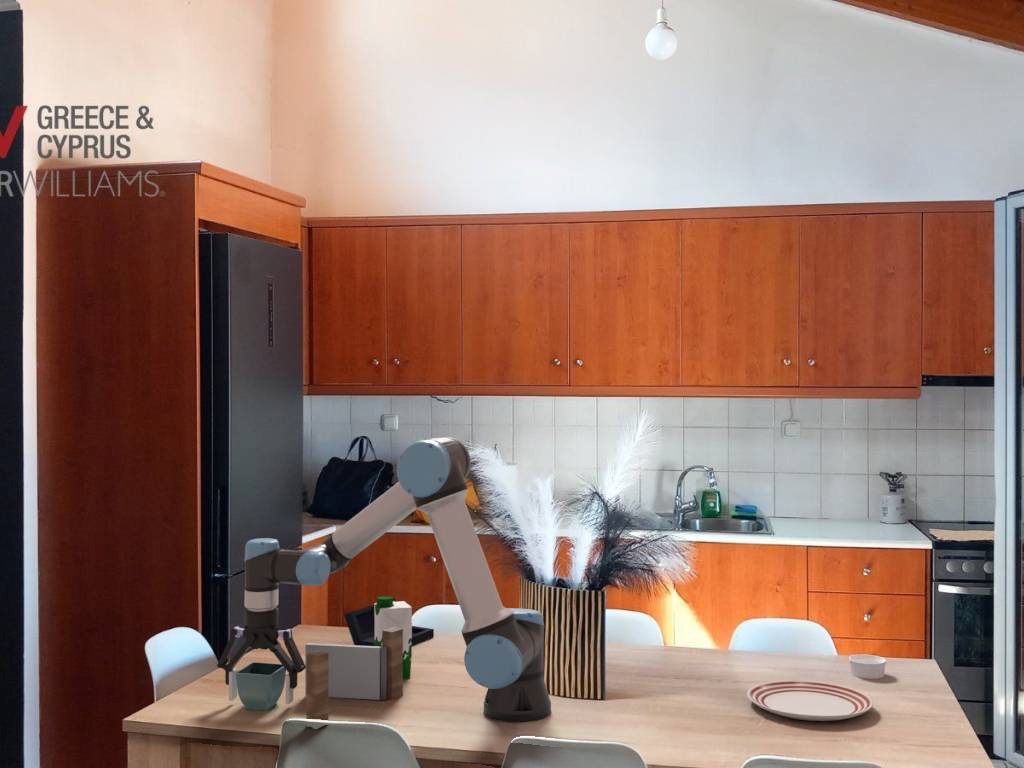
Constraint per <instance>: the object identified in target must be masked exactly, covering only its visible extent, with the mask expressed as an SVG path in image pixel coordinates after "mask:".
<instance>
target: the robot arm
mask: <svg viewBox="0 0 1024 768" xmlns="http://www.w3.org/2000/svg"><path fill="white" fill-rule="evenodd" d="M471 462H472V461H471V456H470V452H469V451H468V448H467V447H466V446H465V445H464V444H463V443H462V442H461V441H460V440H459V439H456V438H454V437H452V436H451V437H450V436H439V437H433V438H424V439H423V438H422V439H420V440H417V441H414V442H413V443H411V444H409V445H408V446H407V447H405V449H404V450H403V451H402V452H401V453H400V455H399V458H398V461H397V465H396V477H397V479H398V482H396V483H395V484H393V486H391V487H390V488H389V489H388V490H386V491H385V492H383V494H381V495H379V496H378V497H377V498H376V499H375V500H373V501H372V502H371V503H370V504H368V505H367V506H366V507H364V508H363V509H362V510H361V511H359V512H358V513H357V514H355V515H354V516H353V517H352V518H350V519H349V520H348V521H347V522H346V523H344V524H343V525H341V526H340V527H339V528H337V529H336V530H335V531H334V532H333V533H332V534H330V535H328V536H327V537H326V538H325V539H324V540H322V541H321V542H319V543H317V544H315V545H312V546H309V547H306V548H303V549H297V550H296V549H283V548H280V544H279V543H280V542H279V541H278V540H279V539H276V538H270V537H267V538H266V537H265V538H263V537H262V538H261V537H260V538H253V539H250V540H248V541H247V542H246V544H245V546H244V548H245V549H244V550H245V551H244V559H243V562H244V604H243V605H244V607H245V609H244V613H243V614H244V616H243V617H244V622H243V624H244V628H241V627H240V626H239V625H237V626H235V627H233V628H231V630H230V636H229V639H228V641H227V644H226V646H225V648H224V649H223V652H222V654H221V656H220V658H219V661H218V662H217V664H216V667H217V668H218V669H223V670H224V671H225V674H224V676H225V680H224V681H225V685H227V686H228V701H234V700H235V699H236V698H238V689H237V681H236V674H235V673H236V672H237V671H238V668H235V666H237V664H238V663H239V662H240V661H241V659H242V658H243V657H244V655H246V653H247V652H248V651H249V650H250V649H251V648H252V649H253V650H259V649H260V650H269V651H270V652H271V653H272V654H274V656H275V657H276V659H278V661H279V662H280V664H282V665H283V666H284V667H285V669H286V672H287V673H286V676H285V705H290V704H292V702H293V701H294V690H295V689H296V688H297V687H298V673H299V674H300V673H301V672H303V671H305V668H306V666H305V662H304V660H303V658H302V655H301V653H300V651H299V649H298V646H297V644H296V643H295V641H294V637H293V630H292V629H291V628H288V629H285V630H283V629H282V630H280V628H279V608H278V606H279V586H280V584H289V585H297V586H298V585H299V586H300V585H301V586H306V587H312V586H321V585H324V584H325V583H326V582H327V581H326V580H328V579H329V577H330V575H331V574H334V573H337V572H339V571H341V570H343V568H346V566H347V565H348V564H349V563H350V561H351V560H352V559H354V557H356V556H357V555H358V554H360V553H361V552H362V551H363V550H365V549H366V548H368V547H369V546H371V544H373V543H374V542H375V541H376V540H378V539H379V538H381V537H382V536H383V535H385V534H386V533H387V532H388V531H390V530H391V529H392V528H394V527H395V526H396V525H397V524H399V523H400V522H401V521H403V520H404V519H406V518H407V517H409V515H411V514H412V513H413V512H415V511H416V510H418V511H420V512H422V513H423V514H426V515H427V519H428V521H429V524H430V526H431V530H432V532H433V535H434V538H435V540H436V544H437V546H438V549H439V552H440V555H441V557H442V560H443V563H444V566H445V568H446V571H447V574H448V577H449V581H450V583H451V585H452V588H453V591H454V594H455V597H456V599H457V603H458V605H459V609H460V610H461V614H462V616H463V619H464V623H463V626H462V627H461V629H460V631H461V635H462V637H463V640H464V642H465V643H464V644H465V646H466V648H465V652H464V657H463V660H464V661H463V662H464V667H465V671H466V673H467V674H468V676H469V677H470V678H471V679H472V680H473V681H474V682H475V683H476V684H477V685H479V686H482V687H483V688H485V689H487V691H486V694H485V697H484V700H483V714H484V715H485V716H486V717H487V718H488V719H492V720H495V721H498V722H502V723H503V722H504V723H513V724H514V723H515V724H517V723H518V724H519V723H531V722H537V721H541V720H544V719H546V718H548V717H549V716H550V715H551V713H552V701H551V699H550V695H549V693H548V688H547V686H546V681H545V680H544V679H545V678H544V631H545V630H544V628H545V623H544V615H543V614H542V612H541V611H539V610H536V609H530V608H516V607H515V608H514V607H511V608H509V607H508V608H507V607H505V606H504V605H503V603H502V600H501V597H500V594H499V592H498V589H497V586H496V583H495V580H494V578H493V575H492V573H491V570H490V567H489V564H488V562H487V559H486V556H485V553H484V551H483V548H482V545H481V543H480V540H479V537H478V533H477V531H476V529H475V526H474V523H473V520H472V517H471V515H470V512H469V509H468V507H467V504H466V501H465V499H466V497H467V495H468V493H469V488H468V486H467V483H466V480H465V479H467V477H468V476H469V474H470V473H469V472H470V469H471V465H472V463H471ZM242 636H243V637H244V639H245V640H246V641H245V642H244V643H243V645H242V646H241V648H239V650H238V651H236V653H235V654H234V656H233V657H232V658H231V659H230V657H231V656H232V653H233V651H234V649H235V648H236V645H237V644H238V641H239V639H240V637H241V638H242ZM279 637H280V638H281V640H282V641H283V643H284V646H285V648H286V650H287V652H288V653H287V652H286V651H285V649H284V648H283V646H282V644H281V643H280V641H279V640H278V638H279ZM288 654H289V655H288ZM229 659H230V660H229Z"/></svg>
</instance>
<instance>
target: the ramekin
mask: <svg viewBox="0 0 1024 768" xmlns="http://www.w3.org/2000/svg"><path fill="white" fill-rule="evenodd" d="M848 660H849V665H850V667H849V668H850V674H851V675H852V676H855V677H857V678H859V679H860V678H861V679H870V680H871V679H872V680H876V679H882V678H884V677H885V669H886V665H887V660H886V658H884V657H881V656H880V655H879V656H878V655H874V654H864V653H863V654H851V655H850V656H849V657H848Z"/></svg>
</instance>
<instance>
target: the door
mask: <svg viewBox="0 0 1024 768" xmlns="http://www.w3.org/2000/svg"><path fill="white" fill-rule="evenodd" d="M304 647H305V650H304V652H305V655H304V656H305V658H304V659H305V660H304V661H305V662H304V664H305V666H306V654H308V653H311V652H314V651H318V650H320V651H325V652H329V698H339V699H340V698H341V699H343V698H344V699H357V700H358V699H361V700H375V701H376V700H378V701H379V700H381V701H385V700H388V699H387V647H378V646H357V645H354V644H353V645H352V644H350V645H349V644H333V643H316V642H315V643H313V642H307V643H305V646H304ZM304 671H305V672H304V674H305V676H304V677H305V682H304V684H305V688H304V689H305V690H304V691H305V693H304V694H305V697H306V668H305V669H304Z"/></svg>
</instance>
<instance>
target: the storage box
mask: <svg viewBox="0 0 1024 768" xmlns="http://www.w3.org/2000/svg"><path fill="white" fill-rule="evenodd" d="M393 601H394V602H397V600H396V598H395V597H393ZM343 617H344V619H345V622H346V625H347V628H348V631H349V634H350V637H351V640H352V642H353V645H357V646H375V615H374V604H372V605H368V606H365V607H362V608H359V609H356V610H352V611H349V612H346V613H345V614H344V615H343ZM434 631H435V629H434V628H431V627H430V628H427V627H422V626H416V625H412V646H415V645H418V644H420V643H424V642H425V641H427V640H431V639H433V638H434V637H435V636H434V635H435V634H434V633H435V632H434Z"/></svg>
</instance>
